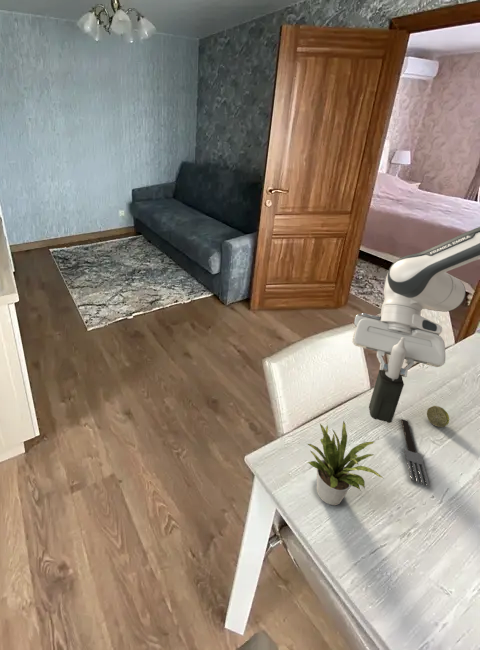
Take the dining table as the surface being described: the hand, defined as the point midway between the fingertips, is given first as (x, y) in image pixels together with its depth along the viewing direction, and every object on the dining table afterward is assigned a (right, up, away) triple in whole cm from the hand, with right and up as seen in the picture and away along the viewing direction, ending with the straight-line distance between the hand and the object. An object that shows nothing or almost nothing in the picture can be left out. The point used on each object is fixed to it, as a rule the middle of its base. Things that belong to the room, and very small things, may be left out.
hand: (393, 373), depth 87 cm
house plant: (-19, -23, -11) cm, 32 cm away
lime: (+16, -16, +7) cm, 24 cm away
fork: (+4, -19, 0) cm, 20 cm away
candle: (0, -13, +6) cm, 15 cm away
